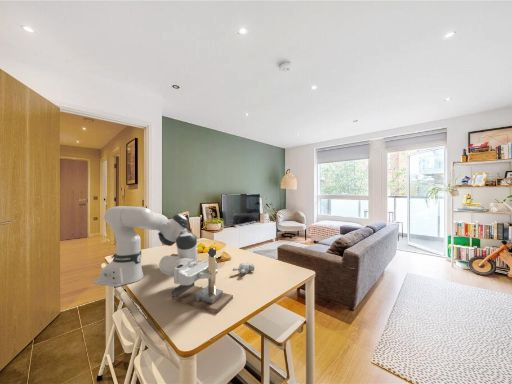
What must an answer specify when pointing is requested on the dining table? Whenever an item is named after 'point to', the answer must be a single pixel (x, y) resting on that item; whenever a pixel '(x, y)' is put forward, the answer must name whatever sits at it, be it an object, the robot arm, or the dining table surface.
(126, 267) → the robot arm
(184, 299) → the press base
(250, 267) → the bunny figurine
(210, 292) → the grey upright rod
